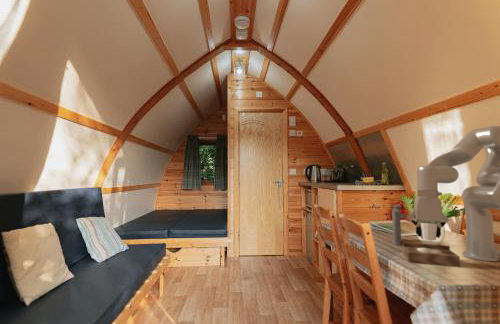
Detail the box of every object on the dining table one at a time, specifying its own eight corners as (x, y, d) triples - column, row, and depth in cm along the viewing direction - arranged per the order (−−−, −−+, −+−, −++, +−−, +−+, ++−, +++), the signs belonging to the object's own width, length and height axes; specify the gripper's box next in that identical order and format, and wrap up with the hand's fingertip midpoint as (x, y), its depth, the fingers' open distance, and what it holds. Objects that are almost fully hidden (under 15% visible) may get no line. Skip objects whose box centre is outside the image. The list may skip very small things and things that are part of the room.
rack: (449, 258, 121) (448, 245, 121) (459, 266, 110) (459, 252, 110) (402, 254, 127) (402, 242, 127) (408, 262, 116) (408, 248, 116)
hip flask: (393, 238, 160) (392, 204, 161) (401, 239, 158) (400, 204, 159) (392, 244, 146) (392, 206, 147) (401, 245, 144) (400, 207, 145)
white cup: (440, 241, 115) (440, 224, 115) (422, 239, 116) (422, 223, 116) (433, 237, 121) (433, 221, 122) (416, 236, 123) (416, 220, 123)
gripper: (447, 194, 121) (448, 236, 120) (403, 193, 126) (403, 233, 125) (454, 195, 113) (455, 240, 112) (406, 194, 119) (407, 236, 118)
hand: (428, 236), depth 119 cm, fingers closed on white cup, 6 cm apart
